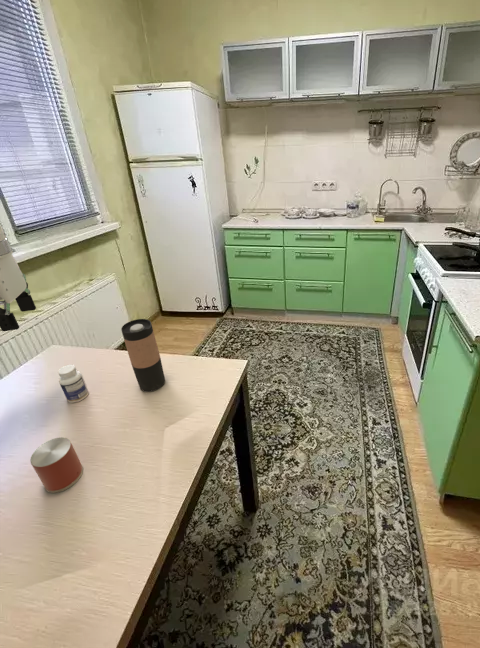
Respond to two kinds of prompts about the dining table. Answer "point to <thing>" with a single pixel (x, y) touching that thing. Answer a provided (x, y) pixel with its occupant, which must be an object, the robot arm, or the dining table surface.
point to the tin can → (57, 464)
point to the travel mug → (144, 354)
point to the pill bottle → (72, 383)
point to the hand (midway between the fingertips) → (20, 319)
